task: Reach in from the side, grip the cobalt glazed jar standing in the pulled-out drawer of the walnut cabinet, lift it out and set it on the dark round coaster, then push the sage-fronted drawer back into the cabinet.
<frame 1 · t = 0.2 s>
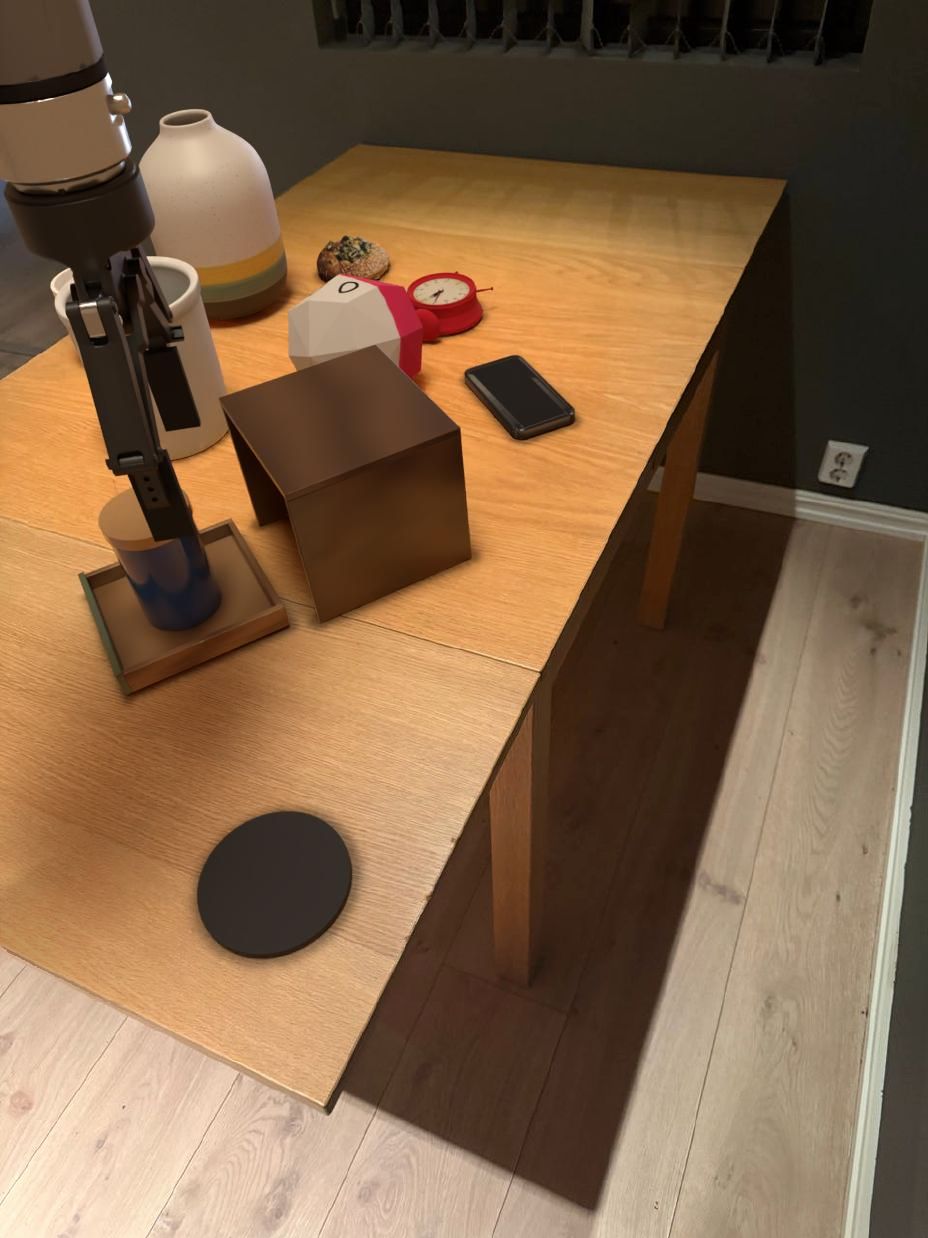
hand: (179, 477, 65), 20 cm above the table, tool pointing down, fingers open, 13 cm apart
alarm clock: (434, 323, 118), on the table
phone: (518, 400, 104), on the table
mug: (129, 352, 118), on the table
jar: (183, 603, 82), point 1 cm above the table, touching drawer
bread roll: (355, 270, 131), on the table
decorative object: (365, 394, 107), on the table
drawer: (181, 598, 82), point 2 cm above the table, slide at 17.5 cm, touching jar
vase: (235, 303, 126), on the table
utensil holder: (177, 429, 105), on the table
coaster: (275, 882, 63), on the table
cabinet: (361, 539, 88), on the table
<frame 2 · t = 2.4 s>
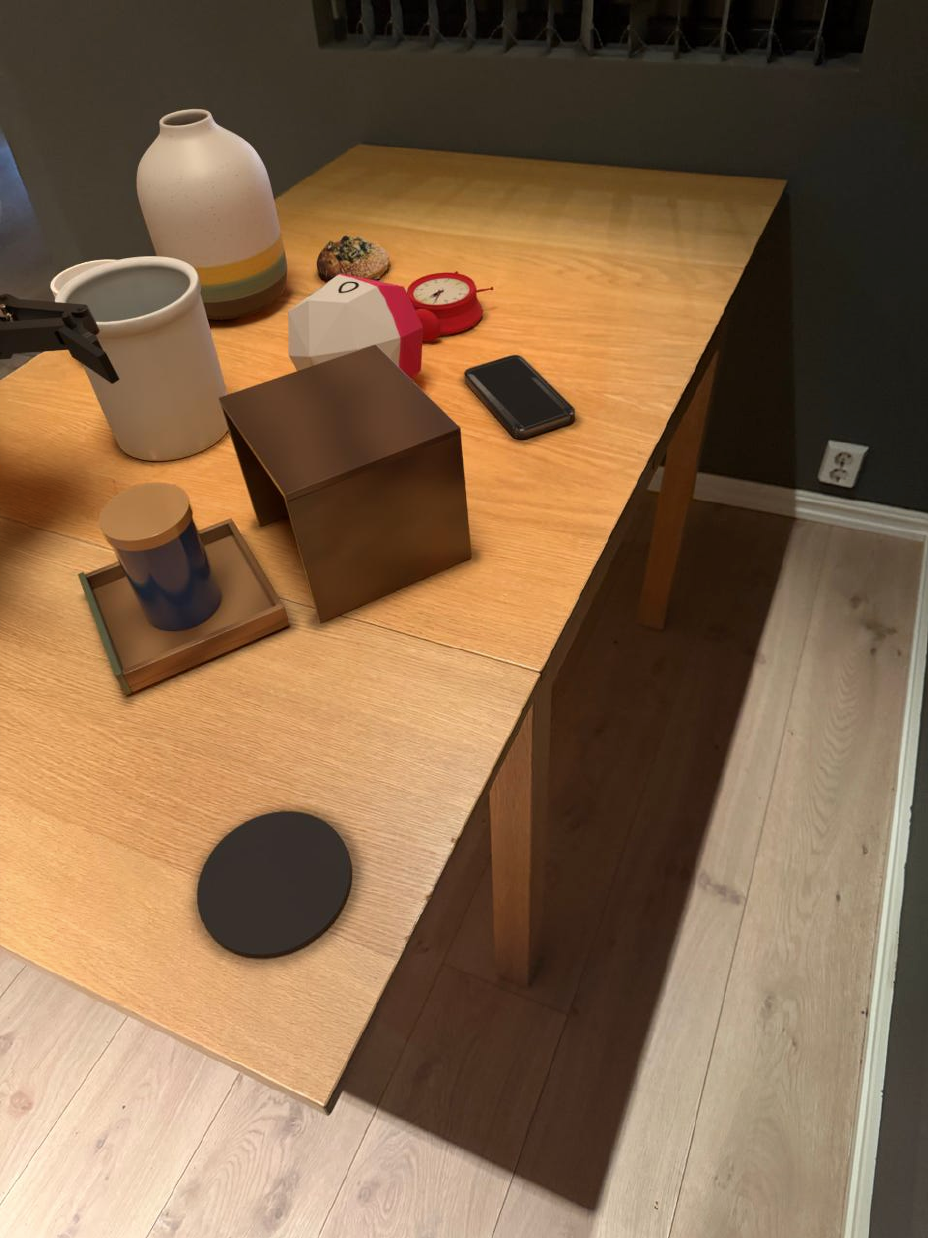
hand: (38, 413, 70), 21 cm above the table, tool horizontal, fingers open, 13 cm apart
nothing on the table moved.
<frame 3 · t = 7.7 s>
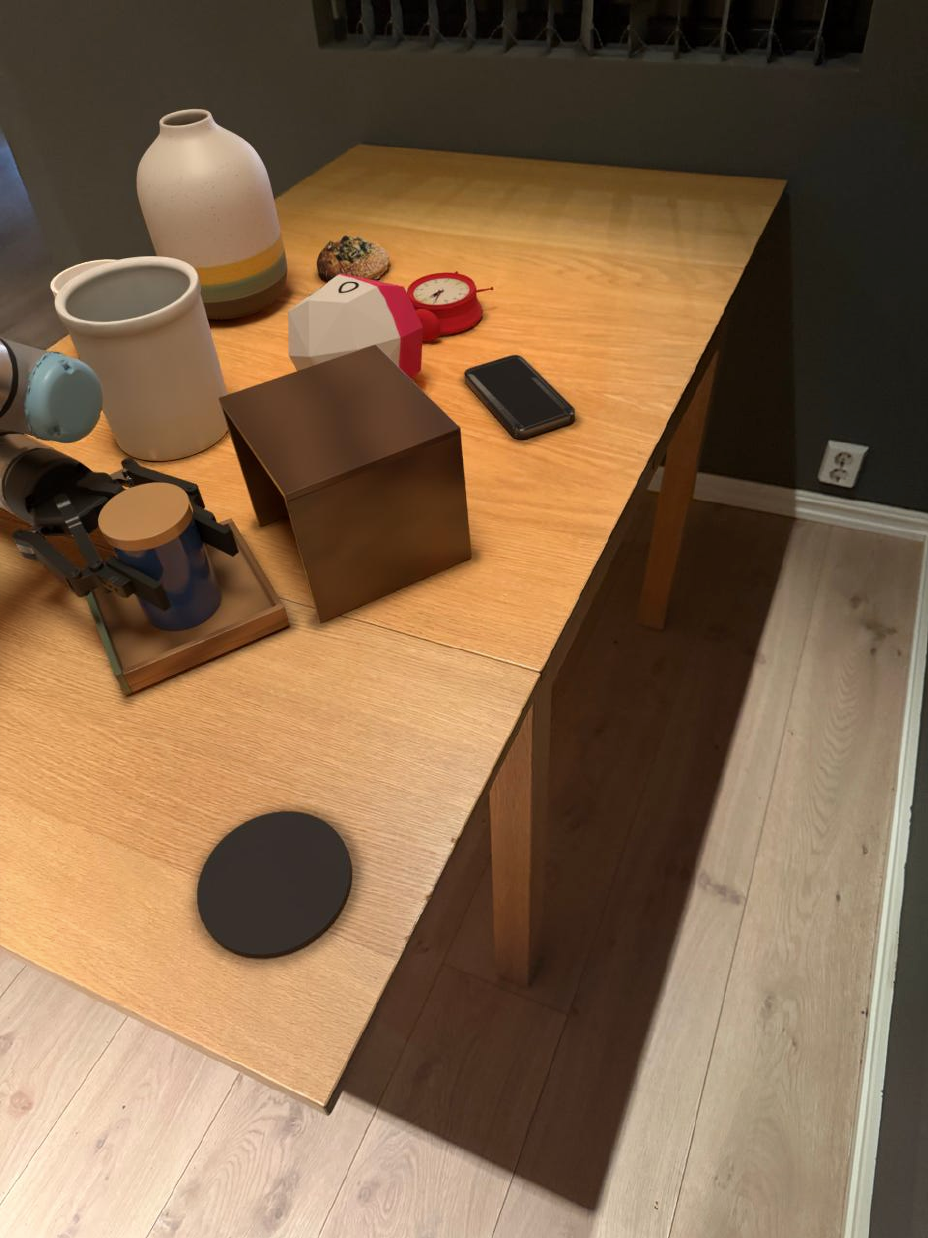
hand: (198, 569, 75), 8 cm above the table, tool horizontal, fingers closed on jar, 7 cm apart
jar: (183, 603, 82), point 1 cm above the table, touching drawer, gripper
everything else where it was.
when the fingers open (7 cm above the table, at t = 18.8 s): jar stays where it is, resting on coaster.
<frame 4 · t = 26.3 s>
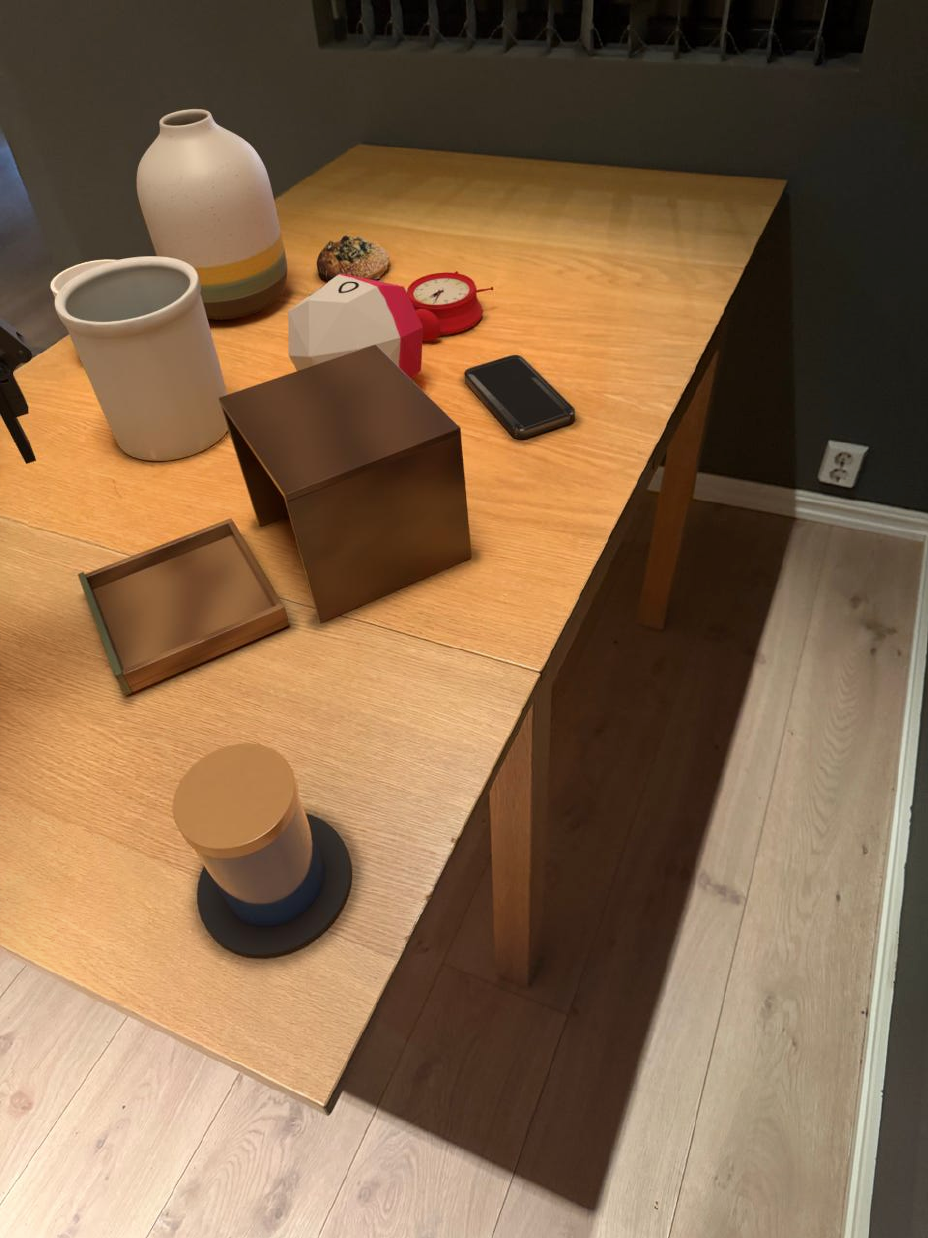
jar: (274, 878, 63), point 1 cm above the table, touching coaster
drawer: (181, 598, 82), point 2 cm above the table, slide at 17.5 cm
everything else where it was.
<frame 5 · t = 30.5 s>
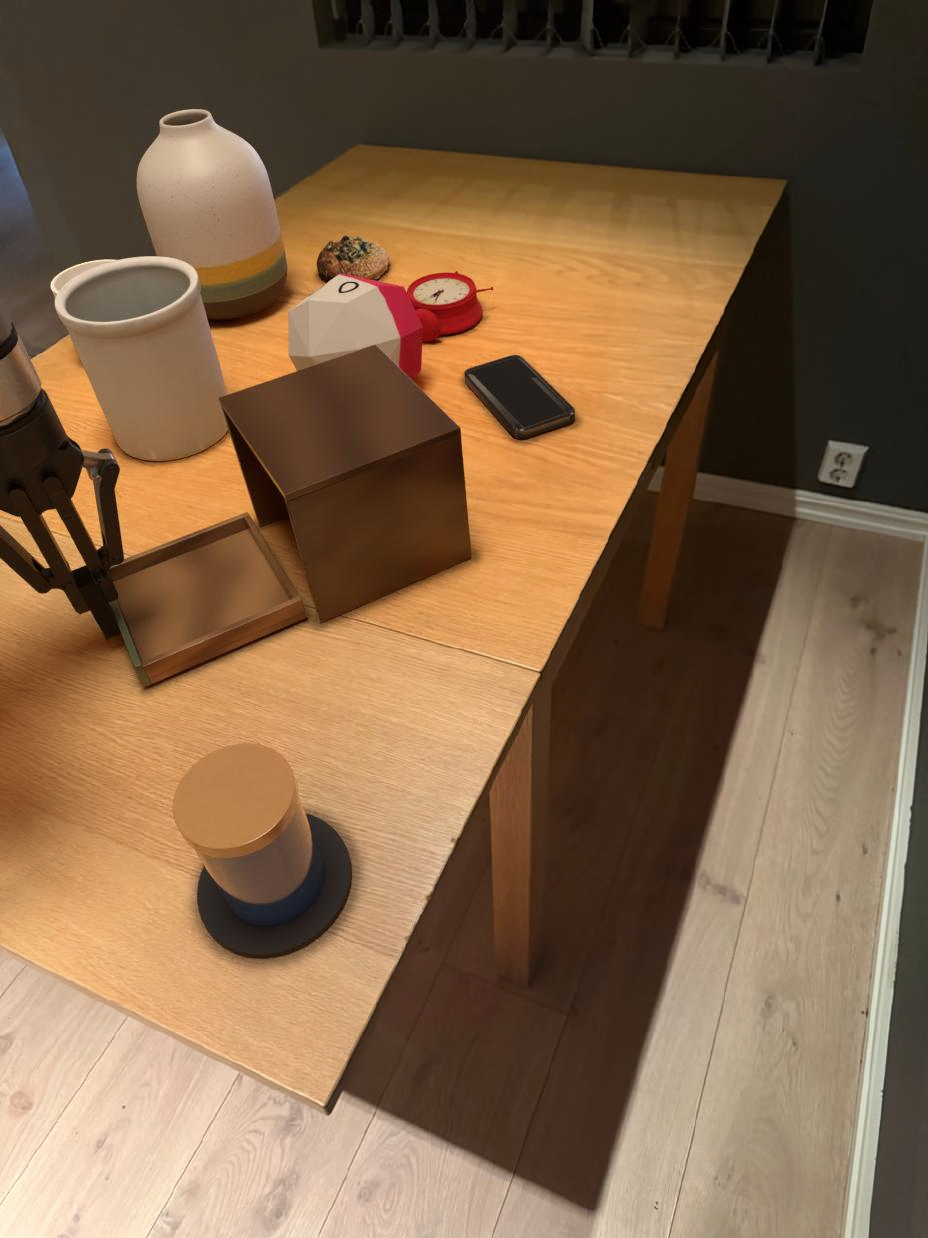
hand: (111, 627, 80), 2 cm above the table, tool pointing down, fingers closed
drawer: (199, 591, 83), point 2 cm above the table, slide at 15.8 cm, touching gripper
everything else where it was.
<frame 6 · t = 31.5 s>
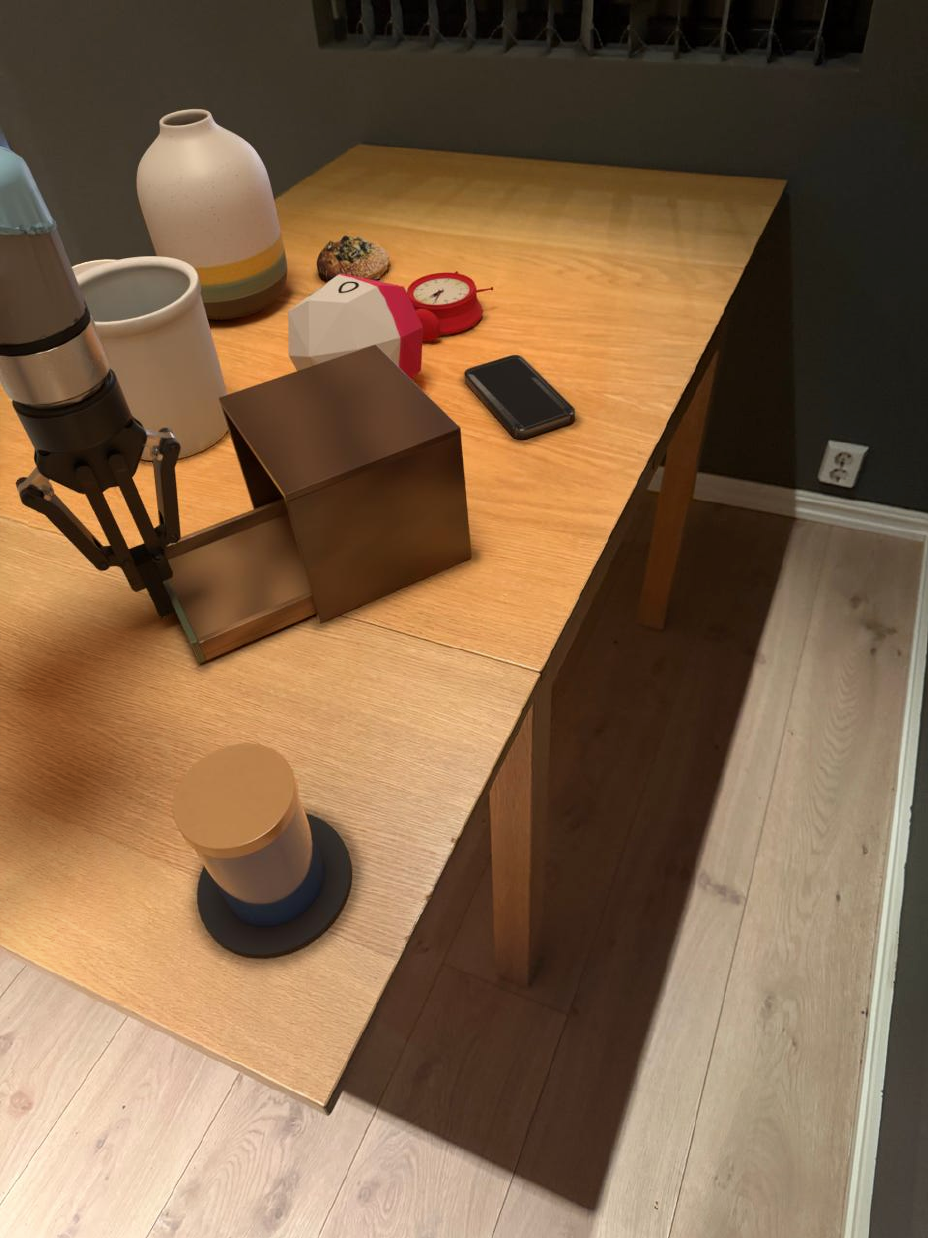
hand: (164, 606, 82), 2 cm above the table, tool pointing down, fingers closed
drawer: (249, 571, 84), point 2 cm above the table, slide at 10.8 cm, touching gripper
everything else where it was.
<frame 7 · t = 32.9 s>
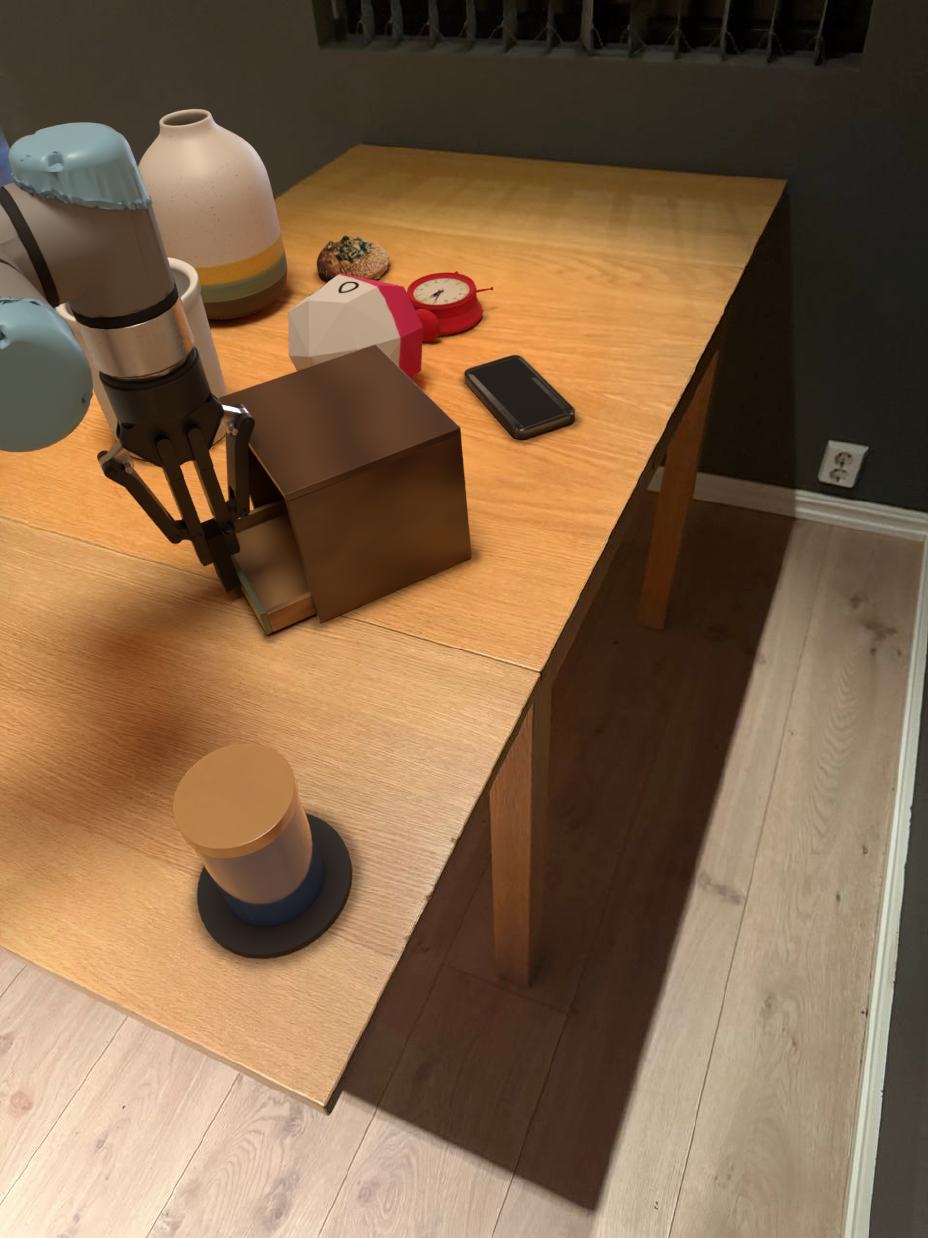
hand: (229, 580, 83), 1 cm above the table, tool pointing down, fingers closed
drawer: (310, 546, 86), point 2 cm above the table, slide at 4.5 cm, touching gripper
everything else where it was.
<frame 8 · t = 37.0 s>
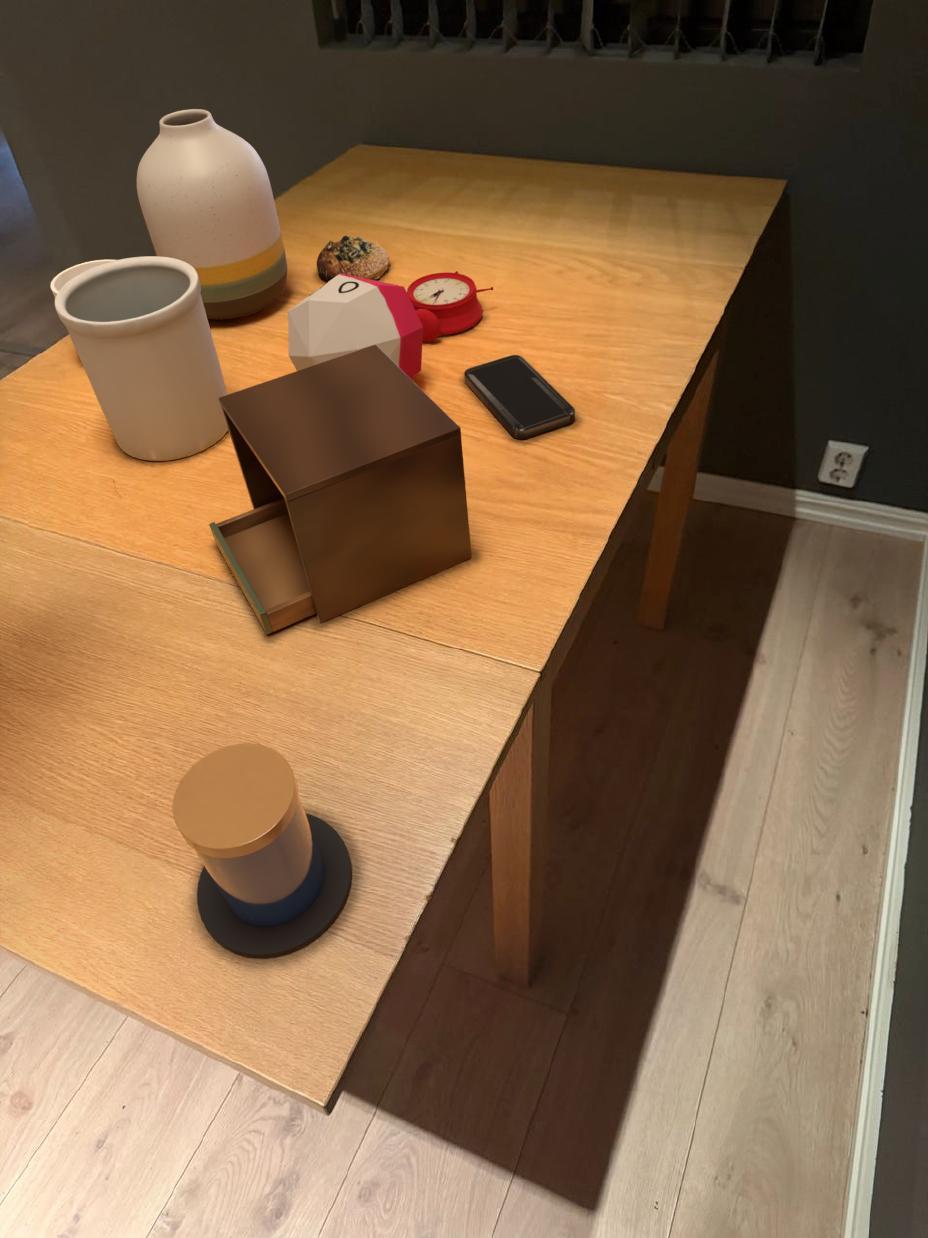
drawer: (310, 546, 86), point 2 cm above the table, slide at 4.5 cm
everything else where it was.
at the end: jar 0.0 cm off-centre on the coaster, point 0.6 cm above the coaster's base; jar tilted 0°; drawer slide at 4.5 cm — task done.
